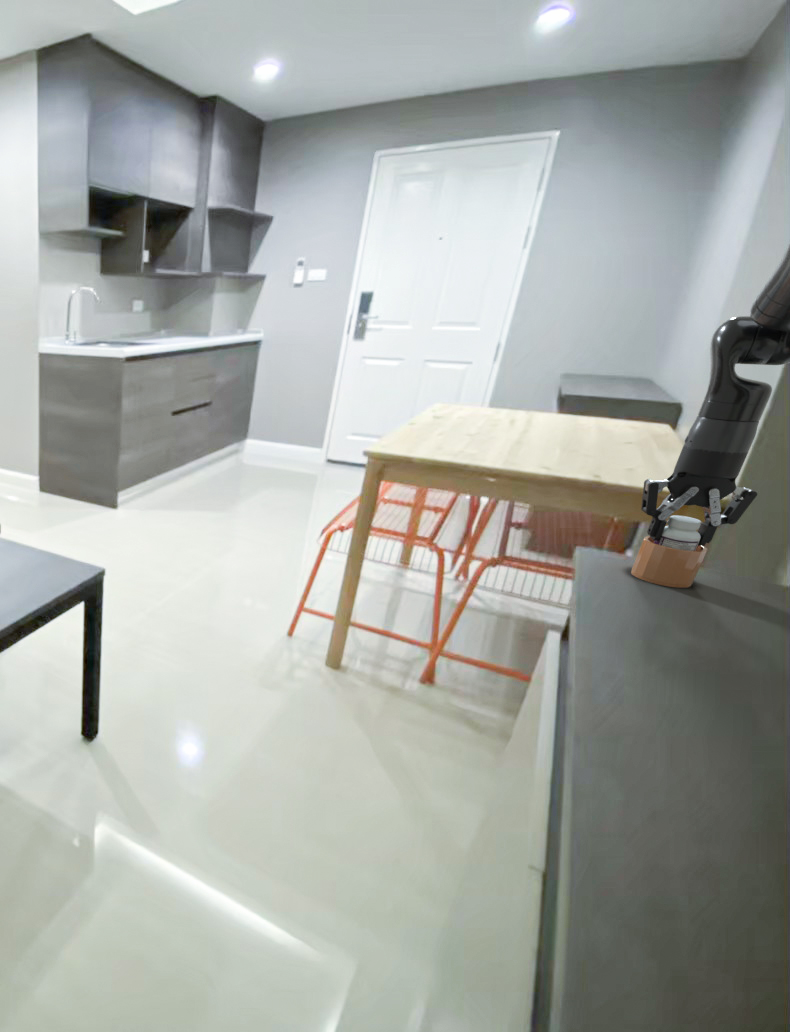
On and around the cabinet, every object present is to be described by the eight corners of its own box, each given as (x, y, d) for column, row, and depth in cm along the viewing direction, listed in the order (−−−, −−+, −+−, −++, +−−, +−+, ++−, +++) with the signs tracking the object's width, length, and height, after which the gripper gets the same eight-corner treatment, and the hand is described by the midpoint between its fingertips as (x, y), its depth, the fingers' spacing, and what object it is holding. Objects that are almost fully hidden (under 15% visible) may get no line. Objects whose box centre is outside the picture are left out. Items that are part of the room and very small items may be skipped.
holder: (679, 575, 111) (694, 539, 108) (699, 592, 104) (716, 554, 101) (623, 567, 114) (637, 532, 111) (639, 583, 107) (654, 547, 105)
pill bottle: (646, 561, 112) (666, 511, 108) (686, 570, 108) (708, 518, 104) (642, 569, 108) (663, 518, 105) (684, 578, 105) (706, 525, 101)
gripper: (668, 446, 100) (631, 542, 106) (790, 454, 94) (743, 555, 100) (650, 438, 106) (616, 529, 112) (763, 445, 100) (720, 541, 106)
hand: (676, 541), depth 106 cm, fingers closed on pill bottle, 5 cm apart
